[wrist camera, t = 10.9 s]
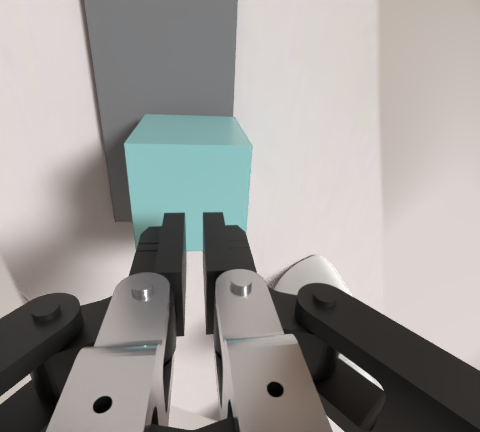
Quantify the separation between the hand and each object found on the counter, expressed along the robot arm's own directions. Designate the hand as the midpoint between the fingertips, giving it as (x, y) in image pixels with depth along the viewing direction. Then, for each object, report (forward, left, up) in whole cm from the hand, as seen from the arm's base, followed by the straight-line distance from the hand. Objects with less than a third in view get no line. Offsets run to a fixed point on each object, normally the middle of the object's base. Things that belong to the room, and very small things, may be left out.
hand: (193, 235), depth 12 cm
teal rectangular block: (0, 0, -10) cm, 10 cm away
